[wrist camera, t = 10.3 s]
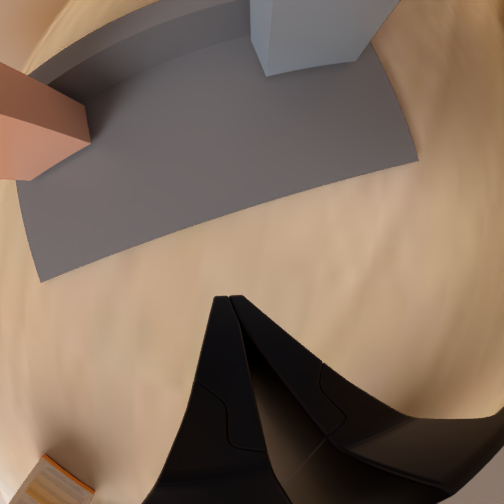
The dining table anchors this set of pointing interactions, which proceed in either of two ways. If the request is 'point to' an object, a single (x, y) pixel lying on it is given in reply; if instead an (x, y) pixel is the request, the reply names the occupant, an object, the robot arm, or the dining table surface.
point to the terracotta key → (36, 126)
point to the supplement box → (51, 486)
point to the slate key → (313, 31)
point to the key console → (196, 131)
